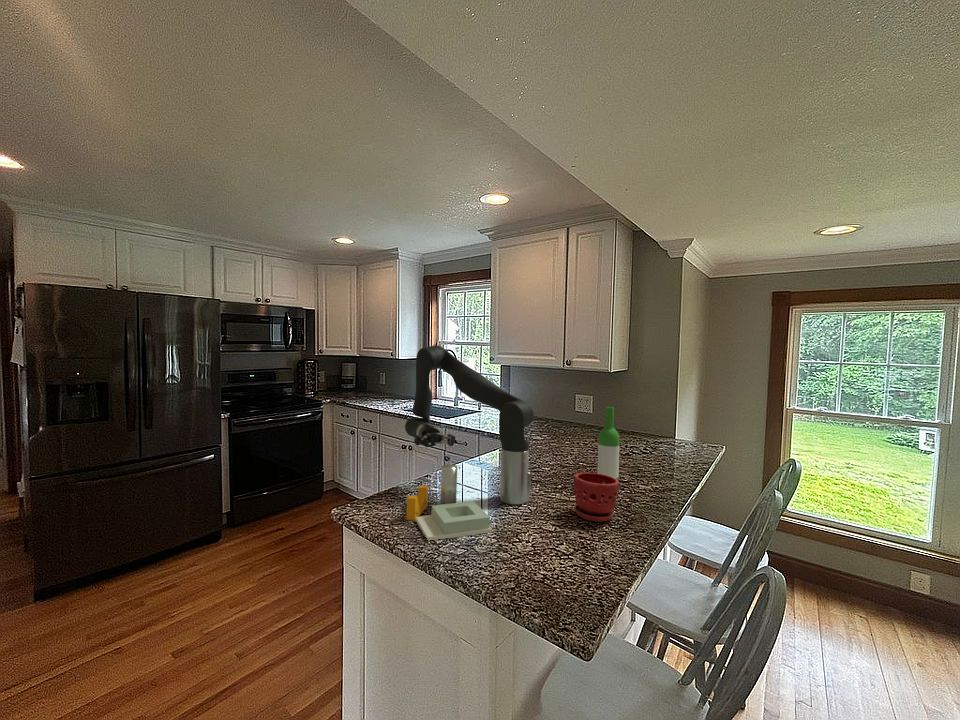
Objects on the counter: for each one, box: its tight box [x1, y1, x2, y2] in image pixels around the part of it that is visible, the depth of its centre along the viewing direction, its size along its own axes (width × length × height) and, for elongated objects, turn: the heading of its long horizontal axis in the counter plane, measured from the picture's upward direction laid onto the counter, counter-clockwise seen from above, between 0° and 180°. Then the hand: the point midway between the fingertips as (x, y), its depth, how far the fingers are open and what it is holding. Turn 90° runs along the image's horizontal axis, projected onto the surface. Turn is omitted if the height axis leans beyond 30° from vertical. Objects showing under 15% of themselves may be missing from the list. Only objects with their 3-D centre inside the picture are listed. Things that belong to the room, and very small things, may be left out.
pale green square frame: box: [415, 500, 493, 542], centre depth 115 cm, size 18×14×4 cm
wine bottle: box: [596, 406, 620, 484], centre depth 157 cm, size 8×8×30 cm
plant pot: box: [573, 472, 620, 522], centre depth 125 cm, size 13×13×12 cm
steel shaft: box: [439, 463, 458, 505], centre depth 129 cm, size 5×5×13 cm
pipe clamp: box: [406, 485, 429, 521], centre depth 124 cm, size 12×4×6 cm, turn 170°
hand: (439, 443), depth 139 cm, fingers open, 8 cm apart
